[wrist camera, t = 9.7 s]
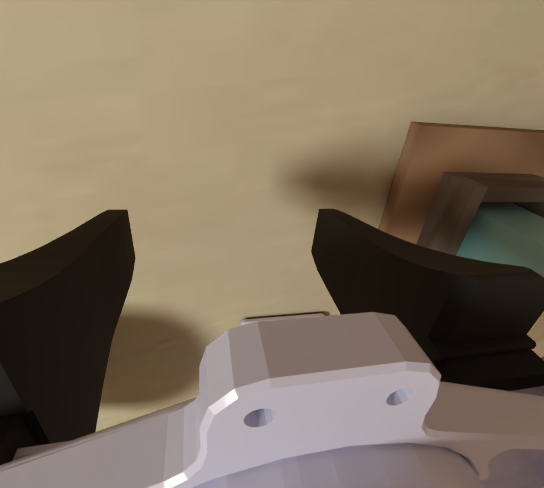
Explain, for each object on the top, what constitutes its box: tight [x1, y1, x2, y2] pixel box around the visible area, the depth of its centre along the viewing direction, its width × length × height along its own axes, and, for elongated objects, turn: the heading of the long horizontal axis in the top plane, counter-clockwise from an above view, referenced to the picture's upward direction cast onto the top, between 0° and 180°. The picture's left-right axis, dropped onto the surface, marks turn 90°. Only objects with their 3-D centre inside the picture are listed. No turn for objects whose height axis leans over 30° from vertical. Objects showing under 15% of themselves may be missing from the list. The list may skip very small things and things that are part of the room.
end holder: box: [379, 122, 544, 255], centre depth 24 cm, size 14×14×4 cm
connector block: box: [456, 202, 544, 277], centre depth 22 cm, size 4×4×8 cm
